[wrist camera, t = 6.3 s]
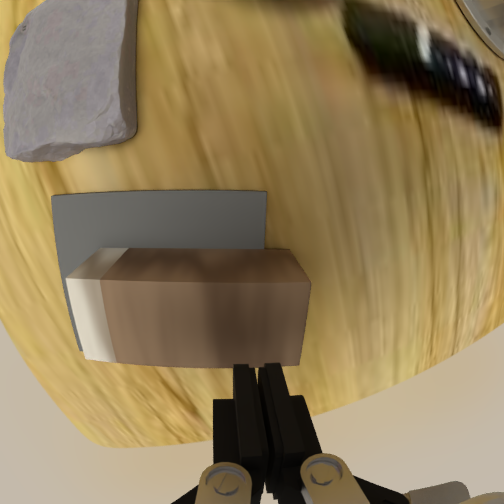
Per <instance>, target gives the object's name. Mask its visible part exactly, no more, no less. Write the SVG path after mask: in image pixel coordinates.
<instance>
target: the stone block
mask: <svg viewBox="0 0 504 504" xmlns="http://www.w3.org/2000/svg"><path fill="white" fill-rule="evenodd" d="M137 10H138V0H46V1H44V2H43V3H41V4H40V5H39V6H37V7H36V8H35V9H33V10H32V11H30V12H29V13H28V14H27V15H26V17H25V19H24V21H23V22H22V23H21V24H19V26H18V27H17V29H16V31H15V33H14V34H13V36H12V38H11V40H10V52H9V56H8V59H7V62H6V65H5V71H4V93H5V98H4V105H3V112H4V122H5V126H4V129H3V130H4V144H5V152H6V155H7V156H8V157H10V158H12V159H16V160H20V161H23V162H36V161H37V162H42V161H52V162H55V161H62V160H64V159H66V158H68V157H70V156H72V155H74V154H79V153H80V152H81V151H83V150H84V149H86V148H91V147H101V146H107V145H112V144H119V143H121V142H124V141H126V140H127V139H130V138H132V137H133V136H134V134H135V133H136V130H137V109H136V78H135V68H136V21H137Z"/></svg>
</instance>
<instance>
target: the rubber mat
mask: <svg viewBox="0 0 504 504" xmlns="http://www.w3.org/2000/svg"><path fill="white" fill-rule="evenodd" d="M51 201H52V214H53V224H54V233H55V241H56V248H57V255H58V261H59V267H60V273H61V278H62V283H63V288H64V293H65V298H66V302H67V306H68V311H69V315H70V319H71V322H72V326H73V330H74V334H75V337H76V341H77V344H78V347H79V350H80V351H83V348H82V345H81V342H80V338H79V335H78V331H77V327H76V323H75V319H74V315H73V311H72V307H71V303H70V298H69V293H68V288H67V283H66V277H67V276H68V275H70V274H71V273H72V272H73V271H74V270H75V269H76V268H77V267H79V266H80V265H81V264H82V263H83V262H84V261H85V260H87V259H88V258H89V257H90V256H91V255H92V254H94V253H95V252H96V251H97V250H98V249H100V248H196V249H264V240H265V221H266V202H267V192H266V191H245V190H143V191H115V192H95V193H78V194H64V195H53V196H51Z"/></svg>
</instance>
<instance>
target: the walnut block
mask: <svg viewBox="0 0 504 504" xmlns="http://www.w3.org/2000/svg"><path fill="white" fill-rule="evenodd" d="M66 283H67V288H68V293H69V298H70V303H71V307H72V311H73V315H74V319H75V323H76V327H77V331H78V335H79V338H80V342H81V345H82V348H83V352H84V355H85V358H86V359H89V360H97V361H105V362H114V363H123V364H134V365H147V366H162V367H183V368H233V364H249V368H253V367H254V368H259V367H264V363H278V362H280V364H281V367H282V366H297V365H299V363H300V358H301V352H302V345H303V339H304V333H305V326H306V319H307V312H308V305H309V298H310V290H311V281H310V279H309V278H308V276H307V275H306V273H305V272H304V270H303V269H302V267H301V266H300V265H299V263H298V262H297V260H296V259H295V257H294V256H293V254H292V253H291V251H290V250H289V249H196V248H100V249H98V250H97V251H96V252H95V253H94V254H92V255H91V256H90V257H89V258H88V259H87V260H85V261H84V262H83V263H82V264H81V265H80V266H79V267H77V268H76V269H75V270H74V271H73V272H72V273H71V274H70V275H68V276H67V277H66Z"/></svg>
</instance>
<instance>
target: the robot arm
mask: <svg viewBox="0 0 504 504" xmlns="http://www.w3.org/2000/svg"><path fill="white" fill-rule="evenodd" d="M456 2H457V3H458V5H459V7H460V8H461V10H462V12H463V14H464V15H465V17H466V18H467V20H468V21H469V23H470V24H471V25H472V27H473V28H474V29H475V31H476V32H477V33H478V35H479V36H480V37H481V38H482V39H483V41H484V42H485V43H486V44H487V45H488V46H489V47H490V48H491V49H492V50H493V51H494V52H495V53H496V54H497V55H499V56H500V57H501V58H503V59H504V0H456ZM213 462H214V464H213V465H211V466H209V467H208V468H206V469H205V470H204V471H203V473H202V475H201V477H200V481H199V485H197V486H196V487H194V488H193V489H192V490H190V491H189V492H187V493H186V494H185V495H183V496H182V497H180V498H179V499H177V500H176V501H175V502H173V503H171V504H260V500H261V495H262V493H263V489H264V483H265V485H266V491H267V493H273V498H274V500H275V499H278V504H504V492H492V493H486V494H483V495H479V496H476V497H473V498H470V495H469V492H468V489H467V487H466V486H465V485H464V484H463V483H461V482H458V481H453V482H448V483H444V484H441V485H436V486H432V487H427V488H422V489H418V490H412V491H409V492H408V493H405V494H400V493H398V492H396V491H393V490H390V489H387V488H384V487H381V486H379V485H376V484H373V483H370V482H368V481H366V480H363V479H361V478H358V477H356V476H354V475H352V473H351V472H350V470H349V468H348V467H347V465H346V464H345V462H344V461H343V460H342V459H340V458H339V457H337V456H335V455H332V454H325V453H322V450H321V447H320V444H319V441H318V438H317V435H316V432H315V429H314V426H313V423H312V420H311V417H310V414H309V411H308V408H307V405H306V402H305V399H304V397H303V396H302V395H296V396H290V395H289V392H288V388H287V385H286V381H285V378H284V374H283V371H282V367H281V364H280V362H278V363H264V367H259V369H258V384H257V379H256V373H255V368H254V367H253V368H249V364H233V399H213Z"/></svg>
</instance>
